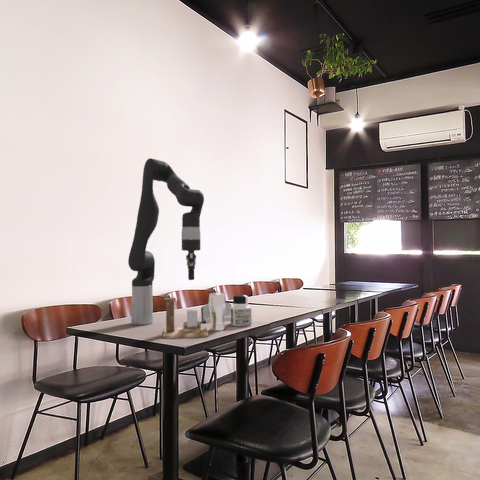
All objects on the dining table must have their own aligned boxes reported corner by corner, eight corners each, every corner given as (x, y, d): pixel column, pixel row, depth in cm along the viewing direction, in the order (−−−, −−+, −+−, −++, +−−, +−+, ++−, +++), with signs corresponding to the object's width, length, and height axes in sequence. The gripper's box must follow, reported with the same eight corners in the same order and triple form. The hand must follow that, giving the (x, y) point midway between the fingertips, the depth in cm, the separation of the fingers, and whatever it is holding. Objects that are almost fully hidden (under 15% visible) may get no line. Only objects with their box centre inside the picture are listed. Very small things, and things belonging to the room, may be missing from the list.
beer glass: (217, 327, 177) (216, 292, 177) (229, 329, 173) (228, 293, 173) (205, 330, 172) (205, 293, 172) (218, 331, 167) (217, 294, 168)
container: (234, 326, 179) (234, 296, 180) (230, 323, 187) (230, 294, 187) (251, 325, 181) (251, 295, 182) (246, 322, 189) (246, 293, 189)
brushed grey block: (187, 331, 163) (187, 311, 163) (187, 329, 167) (187, 310, 167) (197, 331, 164) (197, 311, 164) (197, 329, 168) (196, 309, 168)
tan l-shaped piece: (163, 338, 156) (162, 301, 156) (164, 330, 172) (164, 296, 172) (208, 336, 158) (207, 299, 159) (205, 328, 174) (205, 295, 174)
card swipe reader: (205, 323, 188) (202, 301, 191) (201, 325, 191) (197, 304, 195) (237, 319, 197) (233, 299, 200) (232, 321, 200) (228, 301, 203)
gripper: (181, 239, 173) (181, 278, 172) (181, 238, 159) (181, 280, 158) (199, 239, 174) (199, 277, 173) (201, 238, 160) (201, 280, 159)
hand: (191, 279), depth 166 cm, fingers open, 8 cm apart
